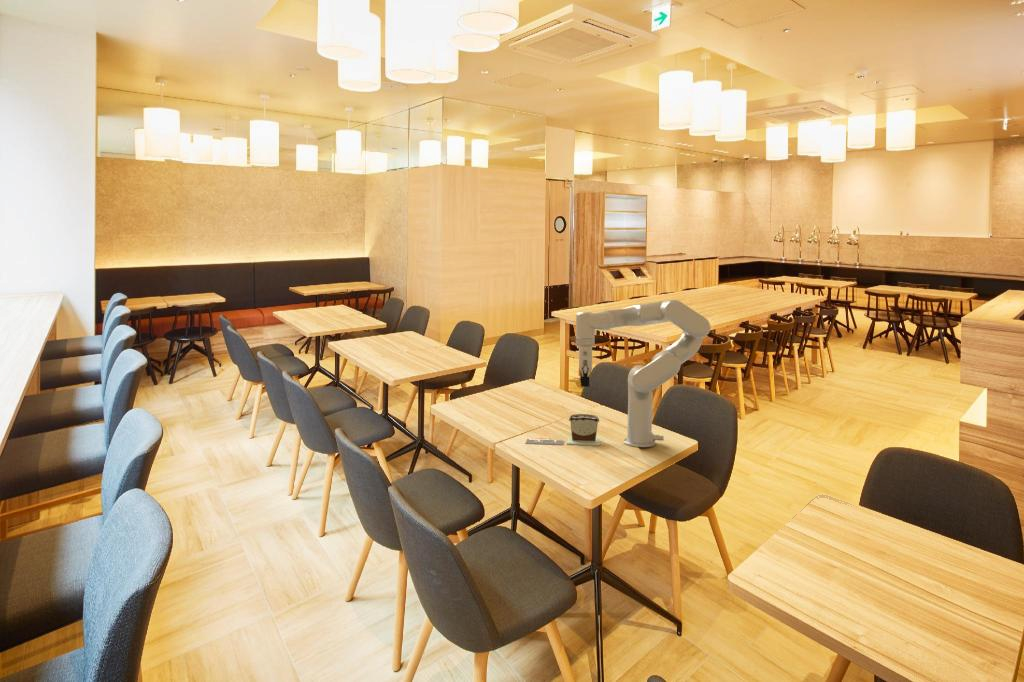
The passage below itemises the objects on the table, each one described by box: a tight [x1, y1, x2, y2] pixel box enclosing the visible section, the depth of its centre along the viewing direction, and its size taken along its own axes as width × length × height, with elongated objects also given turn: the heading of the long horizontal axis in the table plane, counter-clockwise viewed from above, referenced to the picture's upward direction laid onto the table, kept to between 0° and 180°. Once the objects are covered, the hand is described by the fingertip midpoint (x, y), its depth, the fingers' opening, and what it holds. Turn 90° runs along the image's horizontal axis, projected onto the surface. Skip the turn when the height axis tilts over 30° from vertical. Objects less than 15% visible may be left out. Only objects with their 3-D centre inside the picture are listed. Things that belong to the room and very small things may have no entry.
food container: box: [568, 413, 600, 442], centre depth 226 cm, size 12×6×10 cm, turn 83°
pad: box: [566, 437, 601, 447], centre depth 225 cm, size 13×11×1 cm
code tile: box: [525, 438, 564, 446], centre depth 225 cm, size 15×11×1 cm
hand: (584, 384), depth 223 cm, fingers open, 9 cm apart
